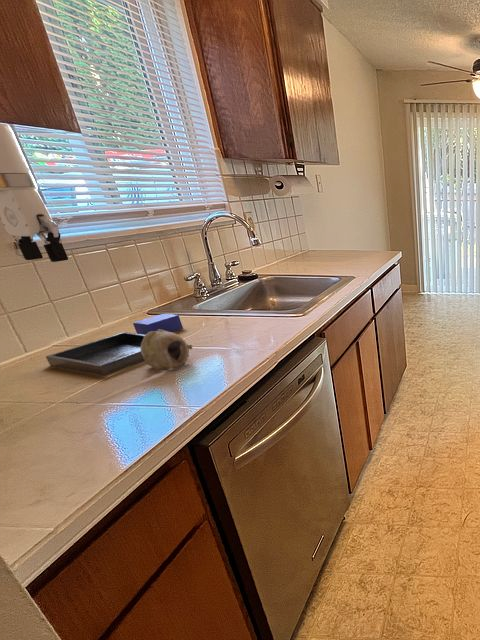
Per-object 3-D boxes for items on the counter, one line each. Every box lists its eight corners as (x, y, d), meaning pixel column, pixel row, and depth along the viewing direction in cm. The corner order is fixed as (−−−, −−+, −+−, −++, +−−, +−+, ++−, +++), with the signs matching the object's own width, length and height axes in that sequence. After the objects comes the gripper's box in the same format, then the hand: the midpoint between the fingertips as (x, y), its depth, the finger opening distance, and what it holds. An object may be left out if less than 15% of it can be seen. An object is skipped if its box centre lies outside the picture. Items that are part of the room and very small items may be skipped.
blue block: (139, 339, 115) (132, 322, 113) (169, 328, 123) (164, 313, 121) (153, 341, 113) (147, 324, 111) (184, 330, 121) (178, 314, 119)
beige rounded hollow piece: (155, 382, 95) (121, 350, 89) (166, 363, 101) (135, 332, 95) (194, 366, 96) (163, 334, 90) (202, 348, 102) (174, 317, 96)
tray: (51, 368, 97) (45, 356, 96) (128, 342, 112) (124, 331, 111) (105, 378, 91) (99, 366, 90) (179, 350, 107) (175, 338, 105)
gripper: (-35, 183, 89) (5, 261, 96) (12, 182, 84) (50, 264, 91) (10, 183, 95) (44, 256, 102) (56, 182, 90) (88, 258, 97)
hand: (47, 260), depth 97 cm, fingers open, 9 cm apart
